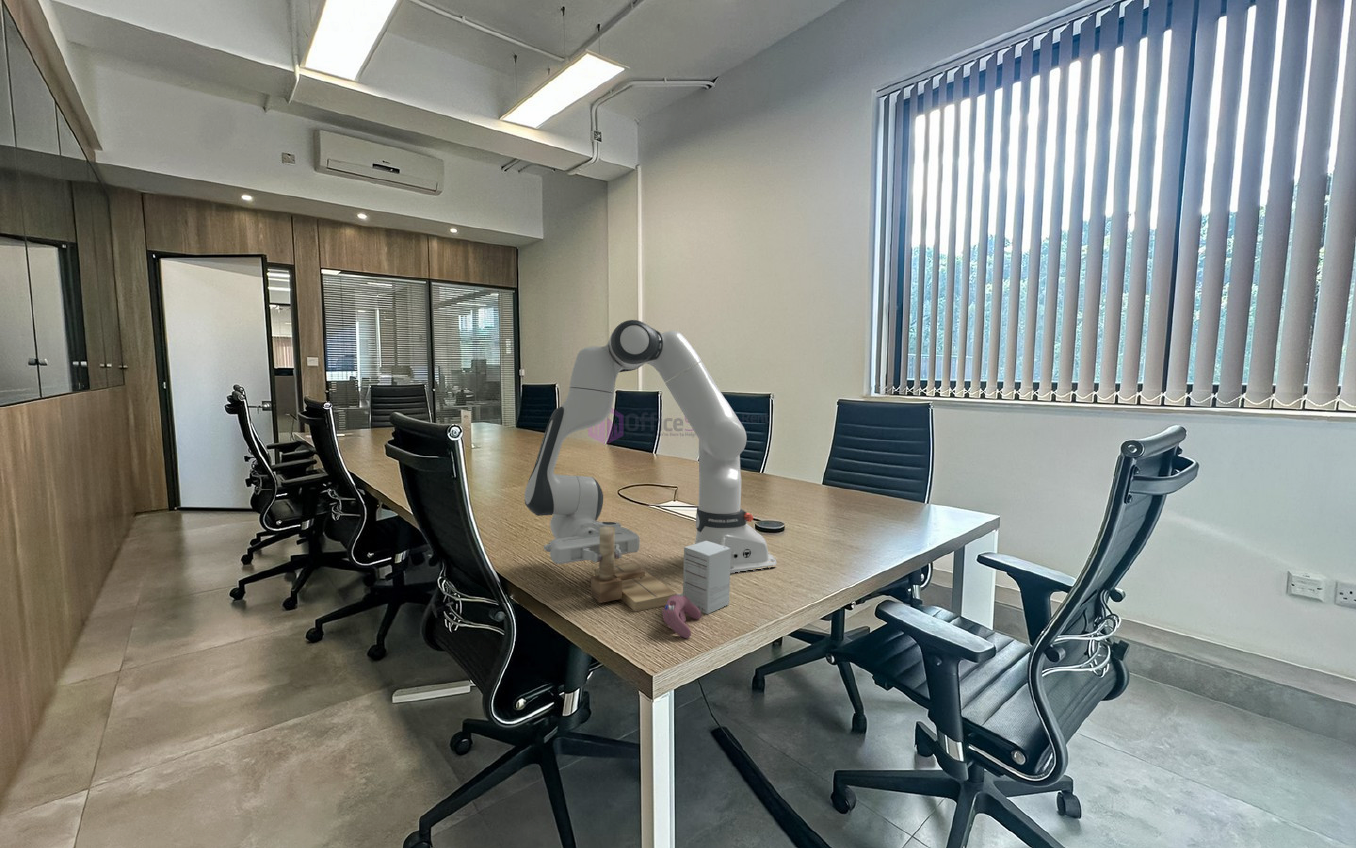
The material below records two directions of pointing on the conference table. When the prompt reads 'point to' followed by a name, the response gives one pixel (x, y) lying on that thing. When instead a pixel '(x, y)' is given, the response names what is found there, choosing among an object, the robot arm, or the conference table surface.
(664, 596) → the board
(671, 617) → the video game controller
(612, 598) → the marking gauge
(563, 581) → the conference table surface
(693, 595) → the supplement box
